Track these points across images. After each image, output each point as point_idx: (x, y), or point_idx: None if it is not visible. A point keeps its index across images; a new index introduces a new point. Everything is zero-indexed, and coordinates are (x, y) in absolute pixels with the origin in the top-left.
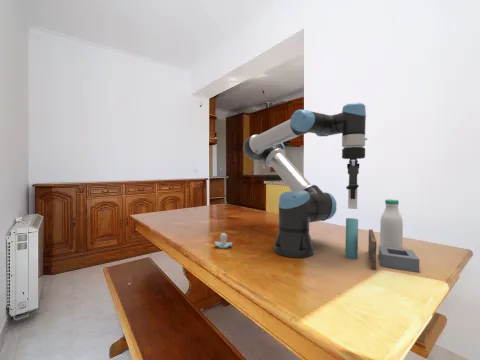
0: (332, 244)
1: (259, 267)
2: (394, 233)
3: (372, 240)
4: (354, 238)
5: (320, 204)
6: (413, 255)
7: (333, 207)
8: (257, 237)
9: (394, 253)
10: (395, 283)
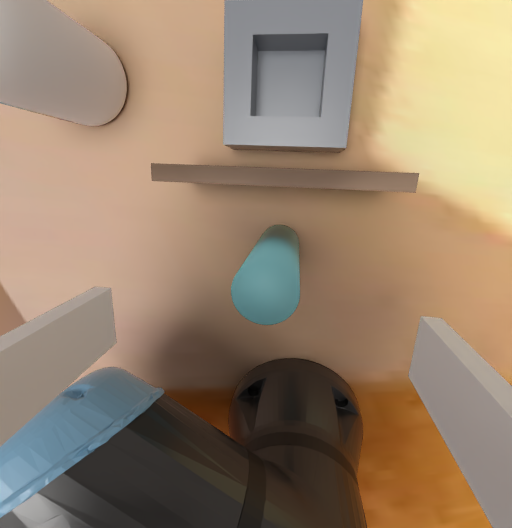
0: (157, 300)
1: None
2: (76, 44)
3: (400, 189)
4: (297, 254)
5: (215, 512)
6: (311, 11)
7: (118, 408)
8: None
9: (253, 88)
10: (486, 129)
